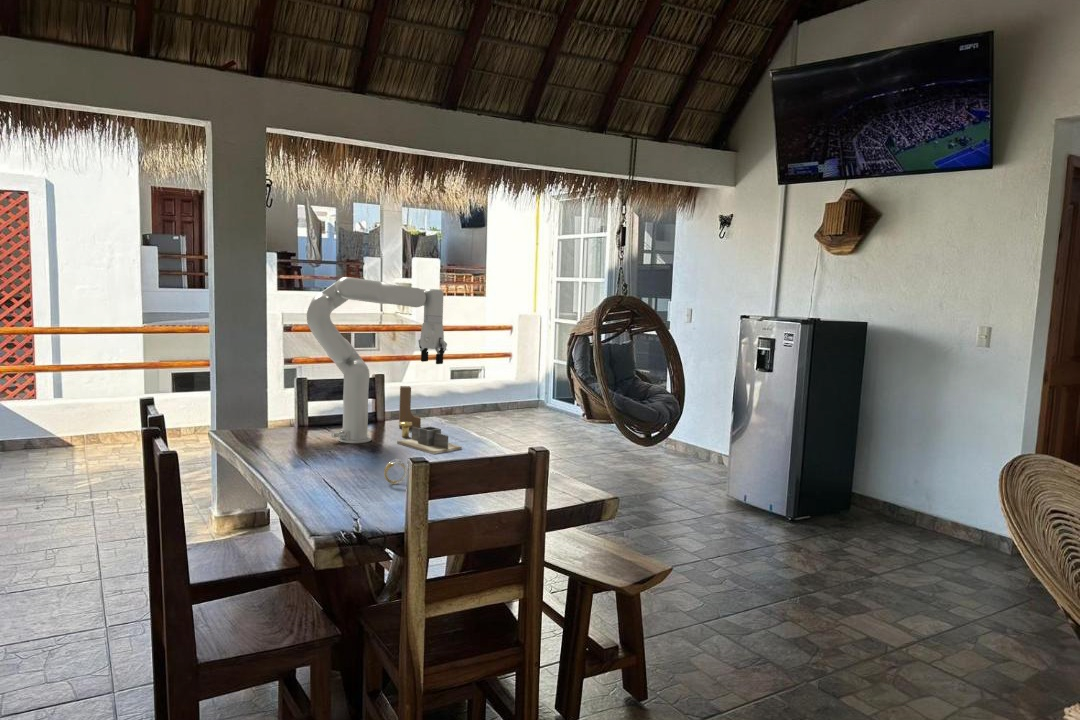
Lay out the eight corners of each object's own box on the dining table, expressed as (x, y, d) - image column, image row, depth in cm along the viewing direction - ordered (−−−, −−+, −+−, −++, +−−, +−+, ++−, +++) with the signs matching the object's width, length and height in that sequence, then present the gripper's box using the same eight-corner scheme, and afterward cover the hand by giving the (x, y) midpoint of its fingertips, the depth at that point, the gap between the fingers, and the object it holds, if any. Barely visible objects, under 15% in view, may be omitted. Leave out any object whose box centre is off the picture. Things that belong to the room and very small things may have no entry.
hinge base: (433, 454, 269) (433, 435, 268) (397, 443, 283) (397, 425, 283) (461, 449, 279) (462, 431, 279) (425, 439, 294) (425, 422, 293)
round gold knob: (404, 438, 293) (404, 424, 292) (396, 436, 296) (396, 422, 295) (414, 437, 296) (414, 422, 296) (406, 435, 300) (406, 420, 299)
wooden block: (419, 426, 318) (421, 386, 317) (420, 428, 314) (421, 387, 312) (398, 426, 316) (400, 386, 314) (399, 428, 312) (400, 387, 310)
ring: (406, 482, 229) (406, 457, 229) (407, 485, 226) (407, 460, 226) (383, 482, 228) (384, 458, 227) (384, 485, 225) (384, 460, 224)
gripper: (412, 318, 293) (411, 360, 294) (439, 321, 281) (437, 365, 282) (427, 318, 298) (426, 360, 300) (454, 321, 286) (452, 364, 288)
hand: (431, 362), depth 291 cm, fingers open, 9 cm apart
